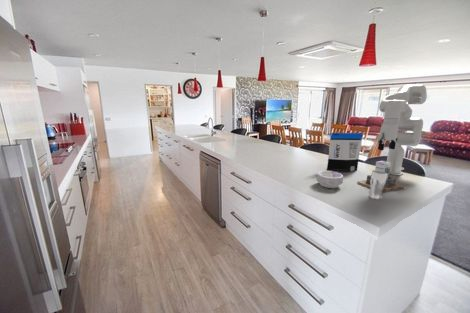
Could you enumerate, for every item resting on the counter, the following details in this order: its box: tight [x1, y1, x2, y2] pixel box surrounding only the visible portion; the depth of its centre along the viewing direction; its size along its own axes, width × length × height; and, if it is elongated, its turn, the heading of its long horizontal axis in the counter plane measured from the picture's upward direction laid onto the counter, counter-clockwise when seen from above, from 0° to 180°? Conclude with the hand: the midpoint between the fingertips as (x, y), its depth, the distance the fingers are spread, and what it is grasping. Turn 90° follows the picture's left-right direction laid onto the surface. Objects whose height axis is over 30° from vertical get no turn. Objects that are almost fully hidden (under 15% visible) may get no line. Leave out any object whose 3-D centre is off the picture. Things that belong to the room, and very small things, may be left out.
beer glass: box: [368, 169, 387, 201], centre depth 116 cm, size 7×7×15 cm
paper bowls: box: [316, 170, 344, 189], centre depth 134 cm, size 15×15×8 cm
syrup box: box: [374, 160, 391, 179], centre depth 134 cm, size 6×6×14 cm
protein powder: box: [326, 132, 363, 173], centre depth 166 cm, size 10×24×30 cm, turn 90°
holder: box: [357, 174, 405, 193], centre depth 135 cm, size 20×16×6 cm
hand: (386, 149), depth 130 cm, fingers open, 9 cm apart
